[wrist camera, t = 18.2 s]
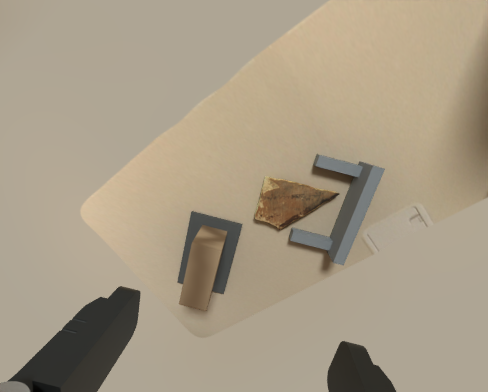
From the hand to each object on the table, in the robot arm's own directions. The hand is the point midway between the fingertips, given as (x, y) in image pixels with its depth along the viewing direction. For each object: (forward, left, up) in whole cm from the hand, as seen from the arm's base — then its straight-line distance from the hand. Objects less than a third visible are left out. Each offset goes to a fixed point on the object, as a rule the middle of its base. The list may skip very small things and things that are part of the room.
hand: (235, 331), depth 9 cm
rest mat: (+4, +13, -26) cm, 30 cm away
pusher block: (+4, +13, -26) cm, 29 cm away
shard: (-5, 0, -27) cm, 28 cm away
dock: (-11, 0, -26) cm, 29 cm away
